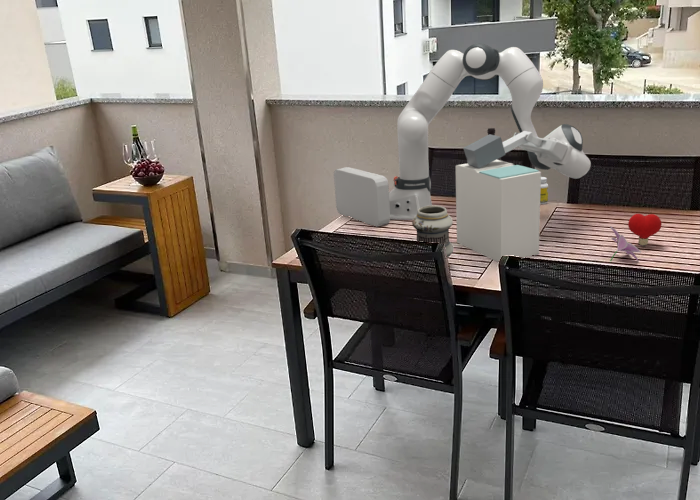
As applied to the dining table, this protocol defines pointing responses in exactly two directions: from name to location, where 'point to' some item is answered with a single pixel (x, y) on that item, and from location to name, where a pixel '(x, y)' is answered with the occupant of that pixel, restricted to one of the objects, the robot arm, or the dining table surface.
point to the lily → (624, 245)
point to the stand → (498, 209)
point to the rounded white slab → (362, 196)
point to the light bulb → (644, 226)
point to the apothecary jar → (434, 226)
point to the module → (492, 148)
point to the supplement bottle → (544, 191)
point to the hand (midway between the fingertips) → (520, 135)
